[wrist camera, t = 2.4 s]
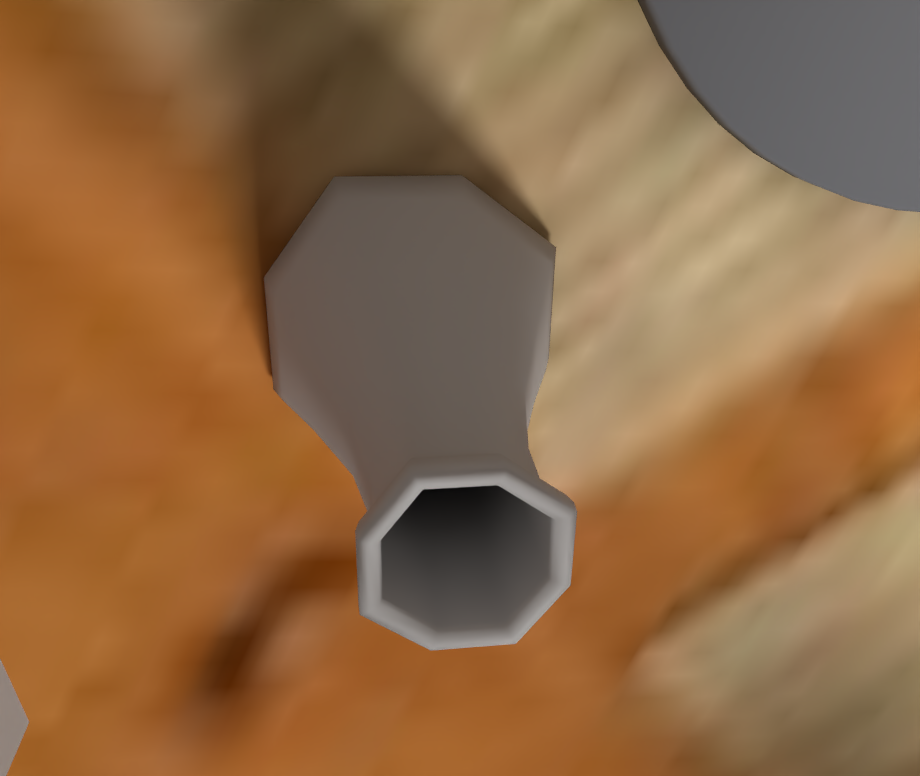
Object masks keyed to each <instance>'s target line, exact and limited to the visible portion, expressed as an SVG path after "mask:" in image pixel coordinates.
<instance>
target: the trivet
mask: <svg viewBox="0 0 920 776" xmlns="http://www.w3.org/2000/svg"><path fill="white" fill-rule="evenodd" d="M638 2H639V4H640V6H641V8H642V10H643V12H644V15H645V17H646V19H647V21H648V23H649V25H650V27H651V29H652V32H653V34H654V36H655V38H656V40H657V42H658V44H659V46H660V48H661V49H662V51H663V52H664V54H665V55H666V57H667V58H668V60H669V61H670V63H671V64H672V66H673V67H674V69H675V71H676V72H677V74H678V75H679V77H680V78H681V80H682V81H683V83H684V84H685V86H686V87H687V89H688V90H689V91H690V92H691V93H692V94H693V95H694V97H695V98H696V99H697V100H698V101H699V102H700V103H701V104H702V106H703V107H704V108H705V109H706V110H707V111H708V112H709V113H710V115H711V116H712V117H713V118H714V119H715V120H716V121H717V123H718V124H719V125H721V126H722V127H723V128H724V129H725V130H727V131H728V132H729V133H730V134H732V135H733V136H734V137H735V138H736V139H738V140H739V141H740V142H741V143H742V144H744V145H745V146H746V147H747V148H748V149H750V150H751V151H752V152H753V153H755V154H756V155H758V156H760V157H761V158H763V159H765V160H766V161H768V162H770V163H771V164H773V165H775V166H777V167H778V168H780V169H782V170H783V171H785V172H787V173H788V174H790V175H792V176H794V177H797V178H799V179H801V180H804V181H806V182H809V183H811V184H813V185H816V186H818V187H821V188H824V189H826V190H829V191H831V192H834V193H836V194H839V195H841V196H844V197H846V198H849V199H851V200H854V201H858V202H863V203H867V204H872V205H876V206H881V207H885V208H890V209H894V210H902V211H916V212H920V0H638Z"/></svg>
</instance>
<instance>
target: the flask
mask: <svg viewBox="0 0 920 776" xmlns="http://www.w3.org/2000/svg"><path fill="white" fill-rule="evenodd" d="M555 254H556V247H555V246H554V245H552V244H551V243H550V242H549V241H547V240H546V239H545V238H543V237H542V236H541V235H539V234H538V233H537V232H535V231H534V230H533V229H532V228H530V227H529V226H528V225H526V224H525V223H524V222H522V221H521V220H520V219H518V218H517V217H516V216H515V215H513V214H512V213H511V212H509V211H508V210H507V209H505V208H504V207H503V206H501V205H500V204H499V203H498V202H496V201H495V200H494V199H492V198H491V197H490V196H488V195H487V194H486V193H484V192H483V191H482V190H481V189H479V188H478V187H477V186H475V185H474V184H473V183H471V182H470V181H469V180H467V179H466V178H465V177H464V176H462V175H436V176H338V177H333V179H332V180H331V182H330V183H329V185H328V186H327V187H326V189H325V190H324V192H323V193H322V195H321V196H320V198H319V199H318V200H317V202H316V203H315V205H314V206H313V208H312V209H311V210H310V212H309V213H308V215H307V216H306V218H305V219H304V220H303V222H302V223H301V225H300V226H299V228H298V229H297V231H296V232H295V233H294V235H293V236H292V238H291V239H290V241H289V242H288V243H287V245H286V246H285V248H284V249H283V251H282V252H281V254H280V255H279V256H278V258H277V259H276V261H275V262H274V264H273V265H272V266H271V268H270V269H269V271H268V272H267V274H266V275H265V276H264V285H265V297H266V308H267V320H268V331H269V343H270V354H271V366H272V378H273V389H274V390H275V392H276V393H277V394H278V395H279V396H280V397H281V398H282V400H283V401H284V402H285V403H286V404H287V405H288V406H290V407H291V408H292V409H293V410H294V411H295V412H296V413H297V414H298V415H299V416H300V417H301V418H302V419H303V420H304V421H305V422H306V423H307V424H308V425H309V426H310V427H311V428H312V429H313V430H314V431H315V432H316V433H317V434H318V435H319V437H320V438H321V439H322V440H323V441H324V442H325V443H326V445H327V446H328V447H329V448H330V449H331V450H332V452H333V453H334V454H335V455H336V456H337V457H338V459H339V460H340V461H341V462H342V463H343V464H344V466H345V467H346V468H347V469H348V470H349V471H350V473H351V474H352V475H353V477H354V479H355V481H356V484H357V486H358V489H359V491H360V494H361V496H362V499H363V501H364V504H365V506H366V509H367V512H366V514H365V515H364V516H363V517H362V518H361V520H360V521H359V523H358V525H357V528H356V531H355V534H356V557H357V579H358V602H359V612H360V615H362V616H364V617H366V618H368V619H370V620H372V621H374V622H375V623H377V624H379V625H381V626H383V627H385V628H387V629H389V630H391V631H393V632H395V633H397V634H399V635H401V636H403V637H405V638H407V639H409V640H411V641H413V642H415V643H417V644H419V645H421V646H423V647H425V648H427V649H429V650H443V649H455V648H468V647H480V646H493V645H506V644H516V643H517V642H518V641H519V640H520V639H521V638H522V637H523V635H524V634H525V633H526V632H527V631H528V630H529V629H530V628H531V627H532V626H533V625H534V624H535V623H536V622H537V620H538V619H539V618H540V617H541V616H542V615H543V614H544V613H545V612H546V611H547V610H548V609H549V608H550V607H551V606H552V604H553V603H554V602H555V601H556V600H557V599H558V598H559V597H560V596H561V595H562V594H563V593H564V592H565V591H566V590H567V588H568V587H569V586H570V585H571V573H572V562H573V551H574V539H575V528H576V517H577V510H576V507H575V504H574V502H573V501H572V500H571V499H570V498H569V497H568V496H567V495H565V494H564V493H562V492H561V491H559V490H557V489H556V488H554V487H553V486H551V485H549V484H548V483H546V482H545V481H543V480H541V479H540V478H539V475H538V473H537V470H536V467H535V465H534V462H533V459H532V457H531V454H530V451H529V449H528V434H527V430H528V425H529V421H530V417H531V413H532V409H533V405H534V402H535V399H536V396H537V393H538V390H539V387H540V385H541V382H542V379H543V376H544V373H545V370H546V367H547V363H548V359H549V346H550V331H551V315H552V300H553V285H554V270H555Z"/></svg>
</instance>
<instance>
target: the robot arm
mask: <svg viewBox="0 0 920 776" xmlns="http://www.w3.org/2000/svg"><path fill="white" fill-rule="evenodd" d="M28 723H29V721H28V718H27V716H26V714H25V712H24V710H23V708H22V705H21V703H20V701H19V699H18V697H17V695H16V692H15V690H14V688H13V686H12V684H11V681H10V679H9V677H8V675H7V673H6V671H5V668H4V666H3V664H2V662H1V660H0V776H6V775H7V773H8V770H9V768H10V766H11V763H12V761H13V759H14V756H15V754H16V751H17V749H18V747H19V744H20V742H21V740H22V737H23V735H24V733H25V730H26V728H27V726H28Z"/></svg>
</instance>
